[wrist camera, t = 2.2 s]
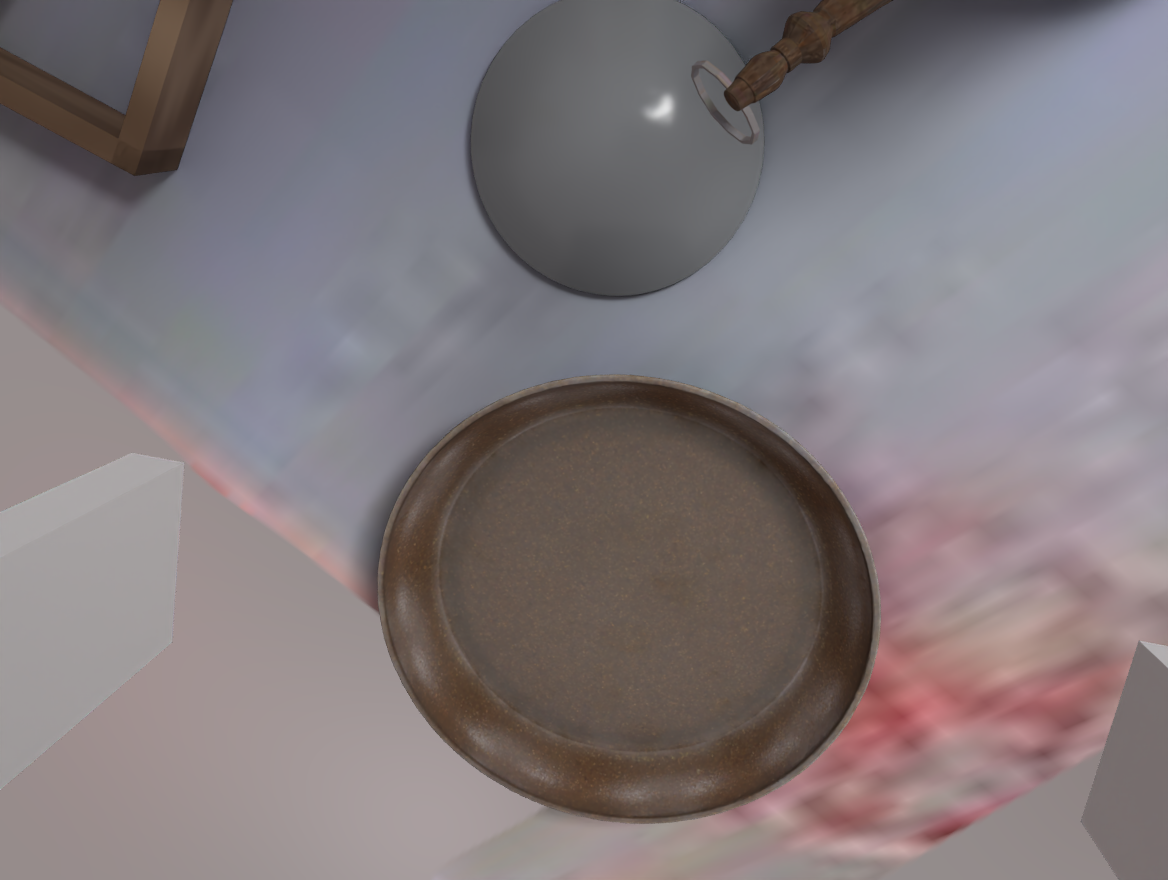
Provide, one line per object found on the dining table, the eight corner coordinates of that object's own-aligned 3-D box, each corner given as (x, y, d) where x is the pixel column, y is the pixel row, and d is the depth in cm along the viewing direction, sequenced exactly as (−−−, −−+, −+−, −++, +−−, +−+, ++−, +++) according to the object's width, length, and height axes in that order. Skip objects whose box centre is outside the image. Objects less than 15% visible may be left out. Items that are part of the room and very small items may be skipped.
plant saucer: (978, 541, 41) (997, 578, 38) (688, 853, 48) (683, 906, 45) (557, 254, 40) (540, 268, 36) (325, 620, 47) (296, 657, 44)
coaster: (550, -69, 35) (548, -71, 35) (822, 80, 36) (822, 80, 35) (428, 210, 39) (425, 211, 39) (673, 342, 40) (673, 345, 39)
